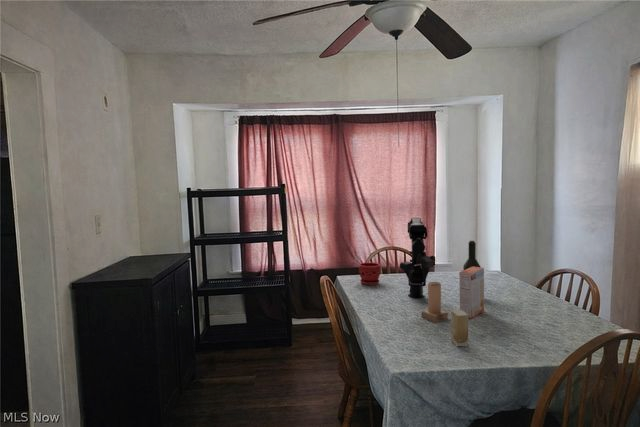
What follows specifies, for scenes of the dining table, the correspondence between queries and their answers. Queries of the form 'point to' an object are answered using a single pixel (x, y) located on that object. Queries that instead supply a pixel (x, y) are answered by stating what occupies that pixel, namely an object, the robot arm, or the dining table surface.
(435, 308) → the tan lidded canister
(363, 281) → the plant pot
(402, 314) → the dining table surface
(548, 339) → the dining table surface
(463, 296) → the cracker box
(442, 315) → the plinth
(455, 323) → the skincare box
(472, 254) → the wine bottle
